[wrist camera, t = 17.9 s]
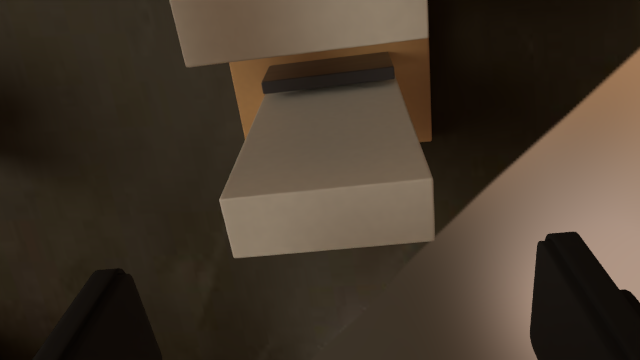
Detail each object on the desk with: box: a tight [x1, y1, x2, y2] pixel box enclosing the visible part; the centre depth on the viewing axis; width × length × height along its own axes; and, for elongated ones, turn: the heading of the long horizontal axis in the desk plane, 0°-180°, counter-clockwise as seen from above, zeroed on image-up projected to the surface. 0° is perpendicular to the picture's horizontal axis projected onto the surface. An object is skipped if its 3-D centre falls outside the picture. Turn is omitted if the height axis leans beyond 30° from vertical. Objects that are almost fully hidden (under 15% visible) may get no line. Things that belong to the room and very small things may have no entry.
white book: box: [219, 77, 435, 258], centre depth 21 cm, size 6×2×12 cm, turn 97°
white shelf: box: [169, 0, 432, 142], centre depth 19 cm, size 10×16×13 cm, turn 7°
